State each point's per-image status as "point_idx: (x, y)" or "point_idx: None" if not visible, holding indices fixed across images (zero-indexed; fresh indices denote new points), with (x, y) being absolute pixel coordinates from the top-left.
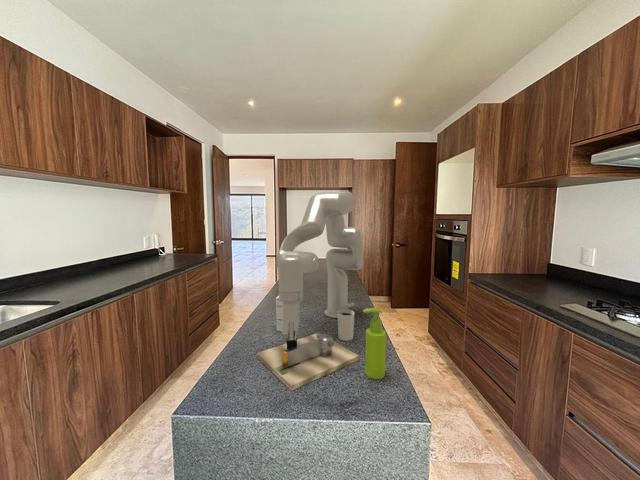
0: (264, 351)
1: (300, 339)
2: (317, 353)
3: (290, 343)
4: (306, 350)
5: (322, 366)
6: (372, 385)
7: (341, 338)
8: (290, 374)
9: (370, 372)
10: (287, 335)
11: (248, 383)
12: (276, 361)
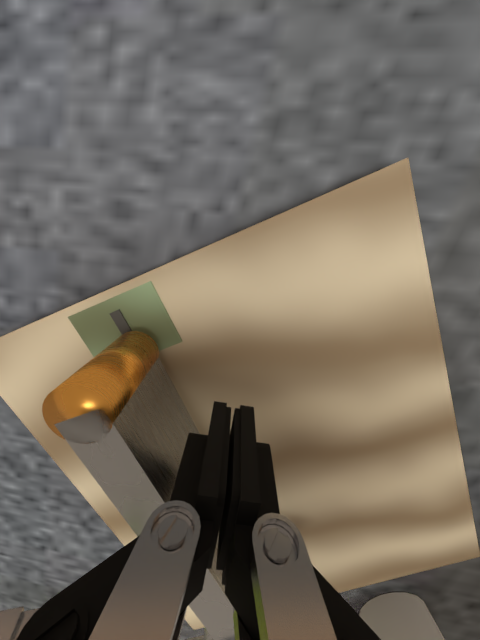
0: (405, 224)
1: (453, 467)
2: None
3: (171, 498)
4: None
5: None
6: (34, 592)
7: (380, 604)
8: (72, 362)
9: None
10: (92, 635)
11: (68, 91)
12: (233, 299)
